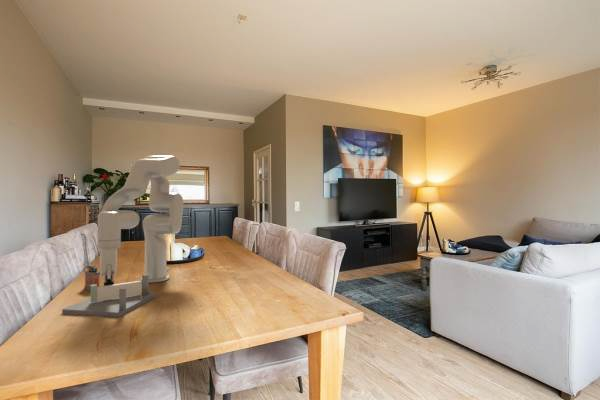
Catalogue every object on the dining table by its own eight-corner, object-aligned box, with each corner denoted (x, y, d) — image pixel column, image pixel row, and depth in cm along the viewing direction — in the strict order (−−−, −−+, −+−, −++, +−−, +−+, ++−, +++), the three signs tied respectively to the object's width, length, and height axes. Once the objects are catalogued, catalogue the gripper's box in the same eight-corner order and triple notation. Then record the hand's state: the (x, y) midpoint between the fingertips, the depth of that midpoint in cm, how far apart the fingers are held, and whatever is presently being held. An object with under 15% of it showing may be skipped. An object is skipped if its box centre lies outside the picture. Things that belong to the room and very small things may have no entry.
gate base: (108, 294, 124) (108, 272, 124) (156, 296, 121) (156, 274, 121) (62, 313, 103) (62, 287, 103) (119, 317, 101) (119, 290, 101)
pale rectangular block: (140, 293, 120) (140, 278, 120) (141, 294, 118) (141, 279, 118) (90, 301, 110) (90, 284, 110) (91, 302, 108) (91, 286, 108)
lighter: (101, 288, 131) (102, 265, 131) (93, 291, 128) (94, 267, 128) (90, 286, 135) (90, 264, 134) (82, 288, 131) (82, 265, 131)
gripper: (98, 242, 119) (97, 288, 119) (96, 247, 106) (96, 299, 107) (120, 240, 123) (119, 286, 123) (121, 246, 110) (120, 296, 111)
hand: (108, 292), depth 115 cm, fingers closed
